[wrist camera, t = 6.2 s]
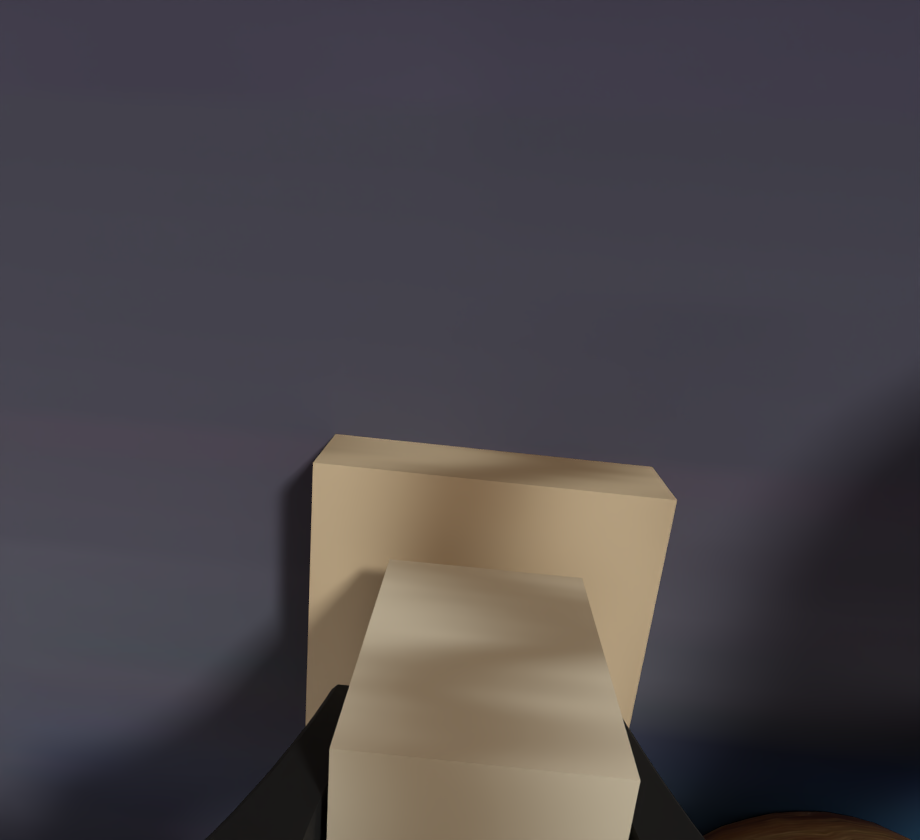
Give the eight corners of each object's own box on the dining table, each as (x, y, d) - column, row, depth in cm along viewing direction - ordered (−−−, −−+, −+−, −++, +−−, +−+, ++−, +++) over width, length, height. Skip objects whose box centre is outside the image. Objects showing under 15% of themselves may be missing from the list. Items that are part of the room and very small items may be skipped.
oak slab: (648, 461, 16) (676, 500, 13) (598, 715, 18) (615, 788, 16) (339, 429, 16) (312, 462, 13) (328, 686, 18) (304, 754, 16)
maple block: (582, 577, 13) (640, 780, 8) (557, 736, 14) (595, 1000, 9) (389, 559, 13) (329, 748, 8) (380, 718, 14) (322, 970, 9)
